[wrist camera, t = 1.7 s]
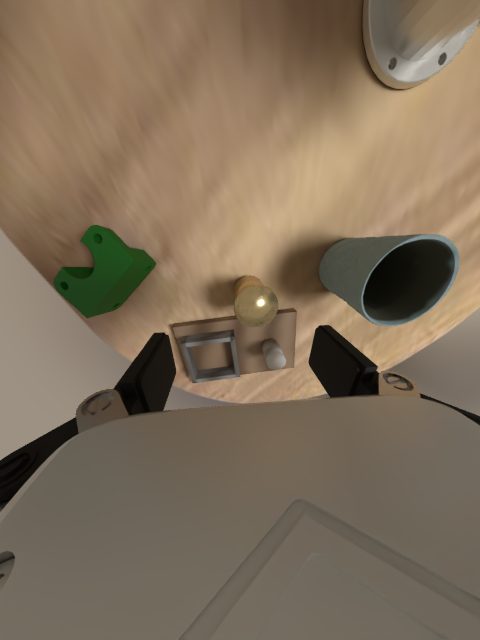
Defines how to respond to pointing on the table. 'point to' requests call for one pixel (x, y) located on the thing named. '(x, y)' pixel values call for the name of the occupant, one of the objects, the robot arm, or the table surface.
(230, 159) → the table surface
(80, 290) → the clamp
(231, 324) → the fitting board
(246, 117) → the table surface
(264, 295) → the brass door knob
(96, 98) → the table surface
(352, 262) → the grey-green cup
